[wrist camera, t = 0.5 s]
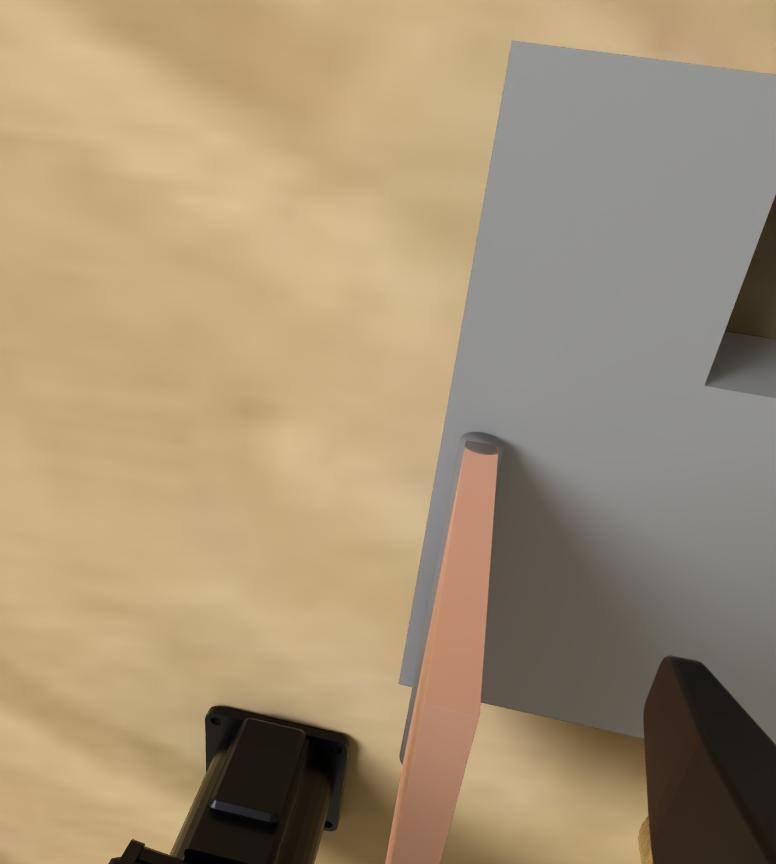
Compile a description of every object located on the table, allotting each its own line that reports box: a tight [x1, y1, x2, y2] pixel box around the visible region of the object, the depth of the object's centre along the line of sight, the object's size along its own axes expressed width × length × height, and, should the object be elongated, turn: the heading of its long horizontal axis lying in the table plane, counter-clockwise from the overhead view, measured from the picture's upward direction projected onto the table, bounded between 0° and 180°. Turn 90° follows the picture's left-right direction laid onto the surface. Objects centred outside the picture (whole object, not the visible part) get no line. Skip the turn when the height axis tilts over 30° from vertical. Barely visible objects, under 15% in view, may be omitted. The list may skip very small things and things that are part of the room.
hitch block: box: [399, 41, 776, 744], centre depth 19 cm, size 18×14×4 cm
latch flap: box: [385, 432, 505, 864], centre depth 17 cm, size 12×1×9 cm, turn 173°
